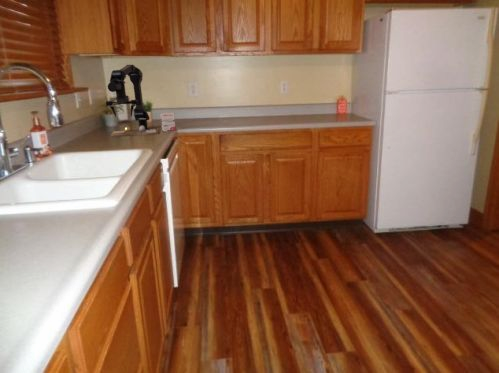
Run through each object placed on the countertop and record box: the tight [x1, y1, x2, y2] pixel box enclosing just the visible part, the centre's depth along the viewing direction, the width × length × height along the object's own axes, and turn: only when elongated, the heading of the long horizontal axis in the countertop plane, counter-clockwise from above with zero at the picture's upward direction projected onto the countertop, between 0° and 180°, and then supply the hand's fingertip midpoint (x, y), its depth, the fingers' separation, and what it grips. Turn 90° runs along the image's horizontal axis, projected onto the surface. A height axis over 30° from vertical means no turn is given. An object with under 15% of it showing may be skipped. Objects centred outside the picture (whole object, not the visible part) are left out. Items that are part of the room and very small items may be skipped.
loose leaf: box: [112, 126, 132, 134], centre depth 242 cm, size 9×10×4 cm
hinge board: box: [110, 125, 159, 138], centre depth 243 cm, size 12×28×5 cm, turn 104°
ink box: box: [159, 112, 177, 132], centre depth 255 cm, size 8×5×12 cm, turn 114°
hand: (123, 116), depth 238 cm, fingers open, 9 cm apart
